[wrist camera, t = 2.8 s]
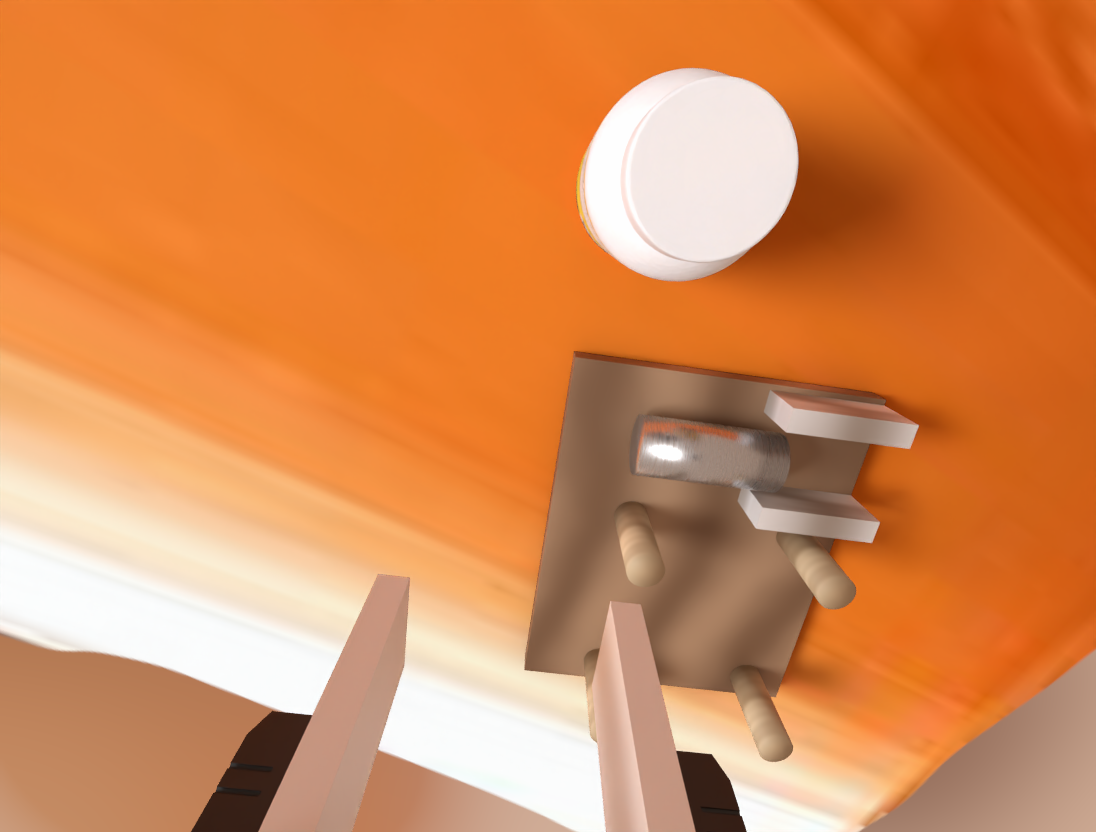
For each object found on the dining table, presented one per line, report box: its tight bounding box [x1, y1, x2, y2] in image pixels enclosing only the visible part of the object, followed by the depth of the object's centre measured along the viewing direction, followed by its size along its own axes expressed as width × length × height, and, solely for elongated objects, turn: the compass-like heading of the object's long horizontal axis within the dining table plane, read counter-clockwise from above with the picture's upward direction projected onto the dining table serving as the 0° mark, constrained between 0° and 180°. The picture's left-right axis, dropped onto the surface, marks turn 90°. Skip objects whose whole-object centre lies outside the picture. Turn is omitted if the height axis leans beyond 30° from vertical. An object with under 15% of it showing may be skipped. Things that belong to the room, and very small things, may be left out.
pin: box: [629, 414, 790, 493], centre depth 27 cm, size 7×3×3 cm, turn 82°
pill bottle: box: [576, 68, 799, 281], centre depth 20 cm, size 6×6×12 cm
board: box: [525, 351, 919, 762], centre depth 29 cm, size 16×20×6 cm
